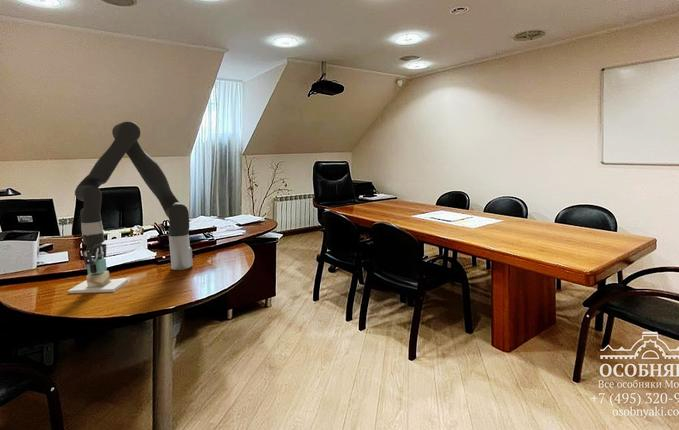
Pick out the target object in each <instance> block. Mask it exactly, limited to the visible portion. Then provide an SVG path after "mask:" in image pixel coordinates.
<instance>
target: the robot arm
mask: <svg viewBox="0 0 679 430" xmlns="http://www.w3.org/2000/svg"><path fill="white" fill-rule="evenodd" d="M111 134H112V136H113V139H114V140H113V141H112V143H111V144H110V146H109V147H108V149H106V150H105V152H104V153H103V154H101V156H100V157H99V159H97V161H96V162H95V164H94V166H92V168H91V170H90V171H89V173H88V174H87V175H86V176H85V177H84V178H83V179H82V180H81V181H80V182H79V184H77V186H76V188H75V190H74V195H75V198H76V199H77V200H78V201H81V202H83V208H81V210H80V213H79V215H80V223H81V226H80V227H81V228H80V229H81V237H82V244H83V245H85V246H86V250H85V251H82V253H81V254H82V258H83V260H84V264H85V265H86V266H87V264H89V265H90V271H91V273H96V272H97V269H96V259H105V258H106V257H107V244H106V243H104V242H105V233H104V225H103V223H102V215H101V208H102V200H103V195H102V191H101V189H100V186H101V185H104V184H106V183H107V182H108V181H109V180H110V178H111V176H112V174H113V173H114V171H115V170H116V168H117V167H118V164H119V163H120V161H122V159H123V158H124V156H125V154H126V155H127V156H128V158H129V159H130V162H131V163H132V164H133V166H134V167H135V169H136V170H137V172H138V173H139V175H140V177H141V179H142V181H144V183H145V184H146V186H147V187H148V189H149V190H150V191H151V192H152V194H153V195H154V197H156V199H157V200H158V202H159V203H160V205H161V207H162V209H163V211H164V213H165V215H166V217H167V218H168V221H169V228H168V241H169V243H168V244H169V254H170V266H171V270H174V271H183V270H186V269H187V270H188V269H190V268H191V267H194V266H193V265H194V262H193V249H192V247H191V245H190V233H189V230H190V213H189V209H188V207H187V206H186V204H183V203H181V202H180V201H179V200H178V199H177V197H176V196H175V195H174V193H173V191H172V190H171V187H170V183H169V181H168V179H167V177H166V174H165V173H164V171H163V170H162V168H161V166H160V165H159V163H158V162H157V161H155V159H153V157H151V155H149V154H148V153H147V152H146V151H145V150H144V149H143V148H142V146H141V144H140V142H139V138H140V137H141V128H140V127H139V126H138V124H137V123H135V122H133V121H123V122H120V123H118V124H115V125H114V126H113V128H112V133H111ZM92 259H93V260H92Z"/></svg>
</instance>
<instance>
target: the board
mask: <svg viewBox="0 0 679 430" xmlns="http://www.w3.org/2000/svg"><path fill="white" fill-rule="evenodd" d="M128 282H129V279H128V278H125V279H123V278H122V279H120V278H119V279H110V282H109V283H107V284H106V285H104V286H103V287H88V286H87V279H86V280H83V281H82V282H80V283H79V284H77V285H75V286H73V287H72V288H70V289H69V290H67V291H68V294H83V293H84V294H85V293H89V294H91V293H114V292H115V291H117V290H119V289H120V288H121V287H123V286H124V285H125V284H127V283H128Z"/></svg>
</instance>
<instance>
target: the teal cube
mask: <svg viewBox="0 0 679 430" xmlns="http://www.w3.org/2000/svg"><path fill="white" fill-rule="evenodd" d="M92 260H93V259H92ZM106 261H107V260H106V258H104V259H96V269H97V272H96V273H102V272H104V271H108V270H107V262H106ZM86 269H87V275H89V274H96V273H91V271H90V265H89V264H87V265H86Z"/></svg>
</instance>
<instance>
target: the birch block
mask: <svg viewBox="0 0 679 430" xmlns="http://www.w3.org/2000/svg"><path fill="white" fill-rule="evenodd" d="M86 280H87V286H88V287H103V286H104V285H106V284H107V283H109V282H110V280H111V278H110V271H109V270H105V271H104V272H102V273H96V274H87V275H86Z"/></svg>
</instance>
